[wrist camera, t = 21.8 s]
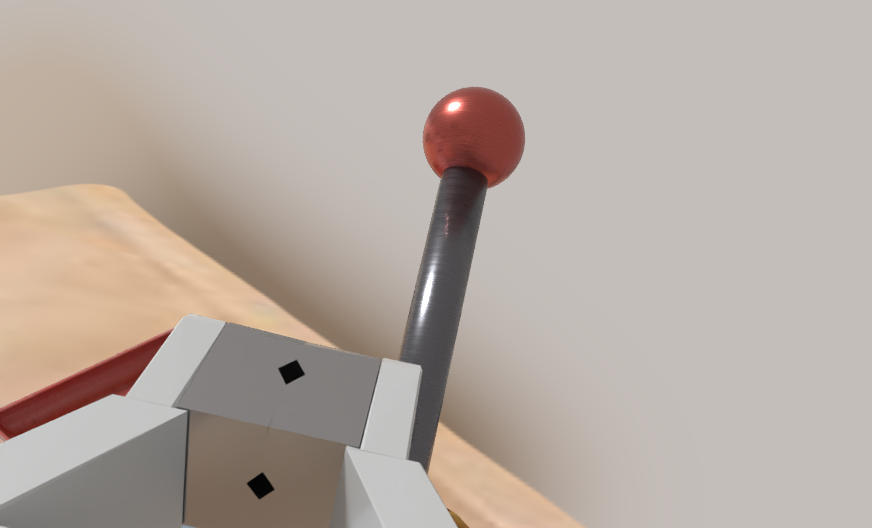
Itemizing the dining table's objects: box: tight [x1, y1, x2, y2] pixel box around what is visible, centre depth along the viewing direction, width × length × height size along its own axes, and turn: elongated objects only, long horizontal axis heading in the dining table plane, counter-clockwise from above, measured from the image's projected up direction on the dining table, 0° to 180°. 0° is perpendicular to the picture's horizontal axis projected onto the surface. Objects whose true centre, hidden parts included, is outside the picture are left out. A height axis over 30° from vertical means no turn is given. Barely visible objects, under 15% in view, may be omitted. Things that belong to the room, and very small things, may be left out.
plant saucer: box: [0, 328, 174, 442], centre depth 55 cm, size 18×18×3 cm
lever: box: [398, 87, 525, 475], centre depth 24 cm, size 4×4×22 cm
